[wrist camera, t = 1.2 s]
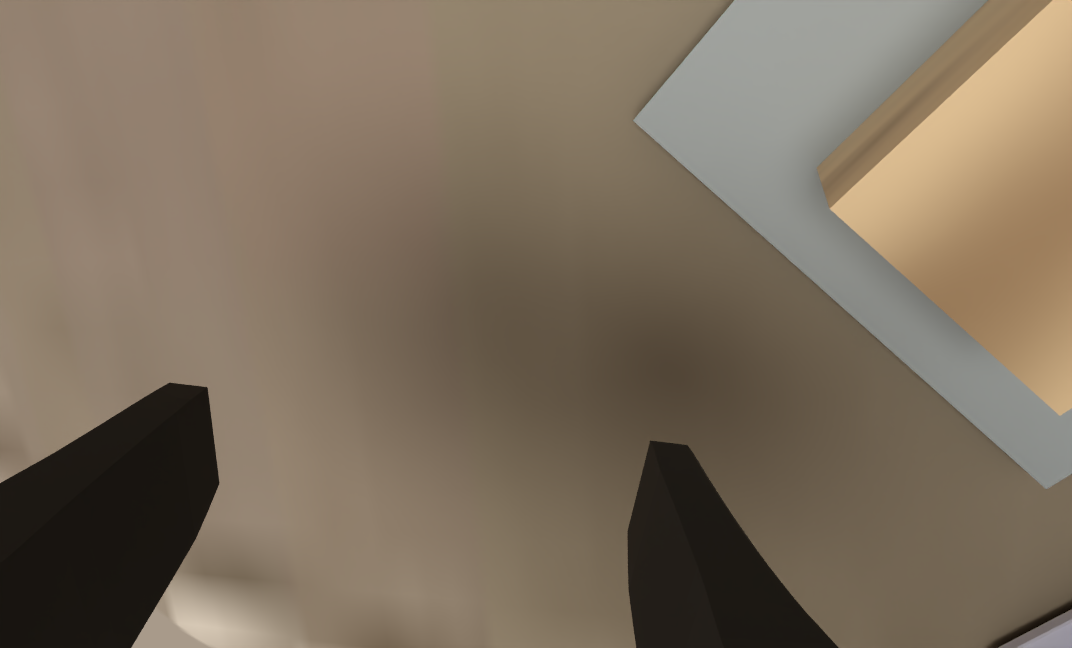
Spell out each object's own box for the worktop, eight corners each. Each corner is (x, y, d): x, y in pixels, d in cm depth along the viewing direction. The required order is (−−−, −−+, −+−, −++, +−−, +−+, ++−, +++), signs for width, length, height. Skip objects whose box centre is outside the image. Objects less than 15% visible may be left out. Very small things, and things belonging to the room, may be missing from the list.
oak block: (1263, 142, 15) (1415, 183, 12) (1001, 334, 18) (1059, 415, 14) (1049, -60, 15) (1137, -80, 11) (816, 167, 18) (829, 208, 14)
